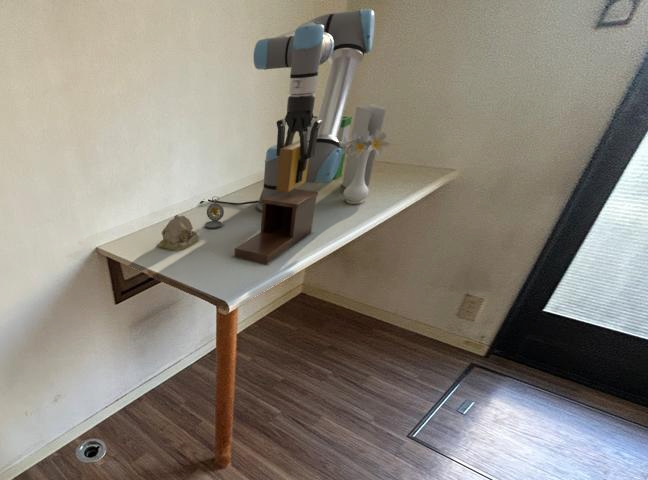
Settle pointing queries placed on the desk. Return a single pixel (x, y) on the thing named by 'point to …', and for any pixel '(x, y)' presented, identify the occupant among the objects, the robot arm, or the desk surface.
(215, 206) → the pocket watch
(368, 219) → the desk surface
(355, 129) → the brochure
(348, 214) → the desk surface
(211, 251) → the desk surface
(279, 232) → the step shelf
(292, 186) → the ochre book
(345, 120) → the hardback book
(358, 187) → the flower vase
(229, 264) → the desk surface
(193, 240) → the ceramic model
